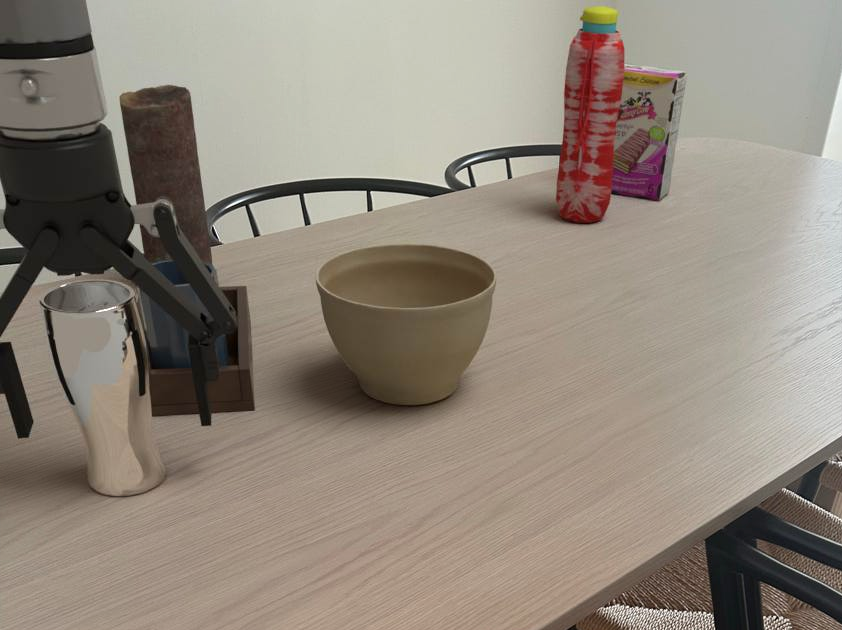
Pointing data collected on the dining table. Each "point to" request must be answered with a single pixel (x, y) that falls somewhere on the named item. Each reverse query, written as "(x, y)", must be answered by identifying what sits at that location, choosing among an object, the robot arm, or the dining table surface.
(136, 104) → the candle
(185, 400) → the glass rack
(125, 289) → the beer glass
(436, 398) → the planter bowl
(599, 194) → the water bottle
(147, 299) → the tumbler
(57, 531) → the dining table surface
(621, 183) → the candy bar box
